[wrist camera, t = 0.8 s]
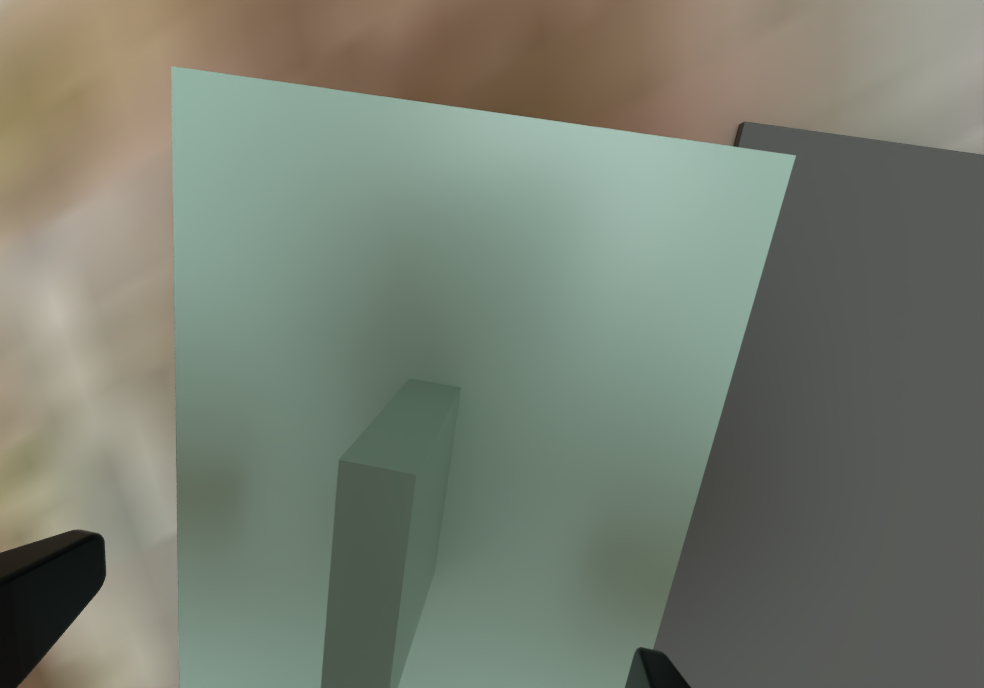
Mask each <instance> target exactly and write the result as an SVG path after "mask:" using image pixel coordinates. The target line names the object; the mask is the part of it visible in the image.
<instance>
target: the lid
mask: <svg viewBox="0 0 984 688" xmlns="http://www.w3.org/2000/svg"><path fill="white" fill-rule="evenodd" d="M171 83H172V160H173V237H174V314H175V391H176V468H177V546H178V623H179V688H625V685H626V681H627V678H628V674H629V670H630V667H631V663H632V659H633V656H634V653H635V651H636V649H637V648H639V647H644V648H648V649H653V648H654V644H655V641H656V637H657V634H658V630H659V627H660V623H661V620H662V617H663V613H664V610H665V606H666V603H667V599H668V596H669V592H670V589H671V585H672V582H673V579H674V575H675V572H676V568H677V565H678V561H679V558H680V554H681V551H682V547H683V544H684V541H685V537H686V534H687V530H688V527H689V523H690V520H691V516H692V513H693V509H694V506H695V503H696V499H697V496H698V492H699V489H700V485H701V482H702V478H703V475H704V471H705V468H706V465H707V461H708V458H709V454H710V451H711V447H712V444H713V440H714V437H715V433H716V430H717V427H718V423H719V420H720V416H721V413H722V409H723V406H724V402H725V399H726V395H727V392H728V389H729V385H730V382H731V378H732V375H733V371H734V368H735V364H736V361H737V357H738V354H739V351H740V347H741V344H742V340H743V337H744V333H745V330H746V326H747V323H748V319H749V316H750V313H751V309H752V306H753V302H754V299H755V295H756V292H757V288H758V285H759V281H760V278H761V275H762V271H763V268H764V264H765V261H766V257H767V254H768V250H769V247H770V243H771V240H772V237H773V233H774V230H775V226H776V223H777V219H778V216H779V212H780V209H781V205H782V202H783V199H784V195H785V192H786V188H787V185H788V181H789V178H790V174H791V171H792V167H793V164H794V161H795V157H796V155H789V154H782V153H775V152H768V151H761V150H754V149H747V148H740V147H733V146H726V145H719V144H712V143H705V142H698V141H691V140H684V139H677V138H670V137H663V136H656V135H649V134H642V133H635V132H628V131H621V130H614V129H607V128H600V127H593V126H586V125H579V124H572V123H565V122H558V121H551V120H544V119H537V118H530V117H523V116H516V115H509V114H502V113H495V112H488V111H481V110H474V109H467V108H460V107H453V106H446V105H439V104H432V103H425V102H418V101H411V100H404V99H397V98H390V97H383V96H376V95H369V94H362V93H355V92H348V91H341V90H334V89H327V88H320V87H313V86H306V85H299V84H292V83H285V82H278V81H271V80H264V79H257V78H250V77H243V76H236V75H229V74H222V73H215V72H208V71H201V70H194V69H187V68H180V67H173V66H171Z"/></svg>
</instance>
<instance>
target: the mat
mask: <svg viewBox="0 0 984 688" xmlns="http://www.w3.org/2000/svg"><path fill="white" fill-rule="evenodd" d="M734 147H740V148H747V149H754V150H761V151H768V152H775V153H782V154H789V155H796V157H795V161H794V164H793V167H792V171H791V174H790V178H789V181H788V185H787V188H786V192H785V195H784V199H783V202H782V205H781V209H780V212H779V216H778V219H777V223H776V226H775V230H774V233H773V237H772V240H771V243H770V247H769V250H768V254H767V257H766V261H765V264H764V268H763V271H762V275H761V278H760V281H759V285H758V288H757V292H756V295H755V299H754V302H753V306H752V309H751V313H750V316H749V319H748V323H747V326H746V330H745V333H744V337H743V340H742V344H741V347H740V351H739V354H738V357H737V361H736V364H735V368H734V371H733V375H732V378H731V382H730V385H729V389H728V392H727V395H726V399H725V402H724V406H723V409H722V413H721V416H720V420H719V423H718V427H717V430H716V433H715V437H714V440H713V444H712V447H711V451H710V454H709V458H708V461H707V465H706V468H705V471H704V475H703V478H702V482H701V485H700V489H699V492H698V496H697V499H696V503H695V506H694V509H693V513H692V516H691V520H690V523H689V527H688V530H687V534H686V537H685V541H684V544H683V547H682V551H681V554H680V558H679V561H678V565H677V568H676V572H675V575H674V579H673V582H672V585H671V589H670V592H669V596H668V599H667V603H666V606H665V610H664V613H663V617H662V620H661V623H660V627H659V630H658V634H657V637H656V641H655V644H654V648H653V650H658V651H661V652H663V653H664V654H666V655H667V657H668V658H669V659H670V660H671V662H672V663H673V664H674V666H675V667H676V668H677V670H678V671H679V672H680V673H681V675H682V676H683V677H684V679H685V680H686V681H687V683H688V684H689V685H690V687H691V688H984V155H981V154H974V153H966V152H959V151H952V150H945V149H938V148H931V147H923V146H916V145H909V144H902V143H895V142H887V141H880V140H873V139H866V138H859V137H852V136H844V135H837V134H830V133H823V132H816V131H809V130H801V129H794V128H787V127H780V126H773V125H765V124H758V123H751V122H743V123H741V124H740V125H739V129H738V133H737V137H736V141H735V145H734Z"/></svg>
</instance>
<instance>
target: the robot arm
mask: <svg viewBox="0 0 984 688" xmlns="http://www.w3.org/2000/svg"><path fill="white" fill-rule="evenodd" d="M105 577H106V561H105V542H104V538H103V537H102V535H100V534H99V533H95V532H90V531H85V530H72V531H68V532H65V533H62V534H59V535H56V536H52V537H49V538H46V539H43V540H40V541H36V542H33V543H30V544H27V545H24V546H20V547H17V548H14V549H11V550H8V551H5V552H1V553H0V688H17V687H18V686H19V685H20V684H21V683H22V681H23V680H24V679H25V678H26V677H27V676H28V675H29V673H30V672H31V671H32V670H33V669H34V668H35V667H36V665H37V664H38V663H39V662H40V661H41V659H42V658H43V657H44V656H45V655H46V653H47V652H48V651H49V650H50V649H51V647H52V646H53V645H54V644H55V643H56V641H57V640H58V639H59V638H60V637H61V636H62V634H63V633H64V632H65V631H66V630H67V628H68V627H69V626H70V625H71V624H72V622H73V621H74V620H75V619H76V618H77V616H78V615H79V614H80V613H81V612H82V610H83V609H84V608H85V607H86V606H87V604H88V603H89V602H90V601H91V600H92V599H93V597H94V596H95V595H96V594H97V593H98V591H99V590H100V588H101V587H102V585H103V583H104V580H105ZM625 688H691V687H690V685H689V684H688V683H687V681H686V680H685V679H684V677H683V676H682V675H681V673H680V672H679V671H678V670H677V668H676V667H675V666H674V664H673V663H672V662H671V660H670V659H669V658H668V657H667V655H666V654H664V653H663V652H661V651H658V650H653V649H648V648H644V647H639V648H637V649H636V651H635V653H634V656H633V659H632V663H631V667H630V670H629V674H628V678H627V681H626V685H625Z"/></svg>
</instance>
